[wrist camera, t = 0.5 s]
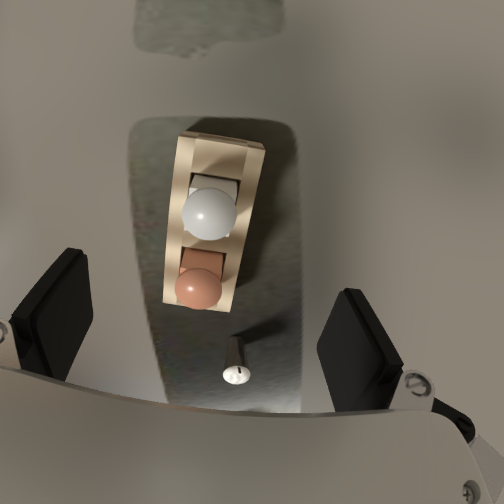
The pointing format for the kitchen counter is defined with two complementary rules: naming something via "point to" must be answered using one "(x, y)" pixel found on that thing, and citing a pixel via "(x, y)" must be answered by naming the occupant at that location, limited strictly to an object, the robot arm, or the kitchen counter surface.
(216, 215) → the grey button
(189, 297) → the terracotta button
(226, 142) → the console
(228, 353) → the milkshake
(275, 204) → the kitchen counter surface
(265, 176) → the kitchen counter surface
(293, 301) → the kitchen counter surface
